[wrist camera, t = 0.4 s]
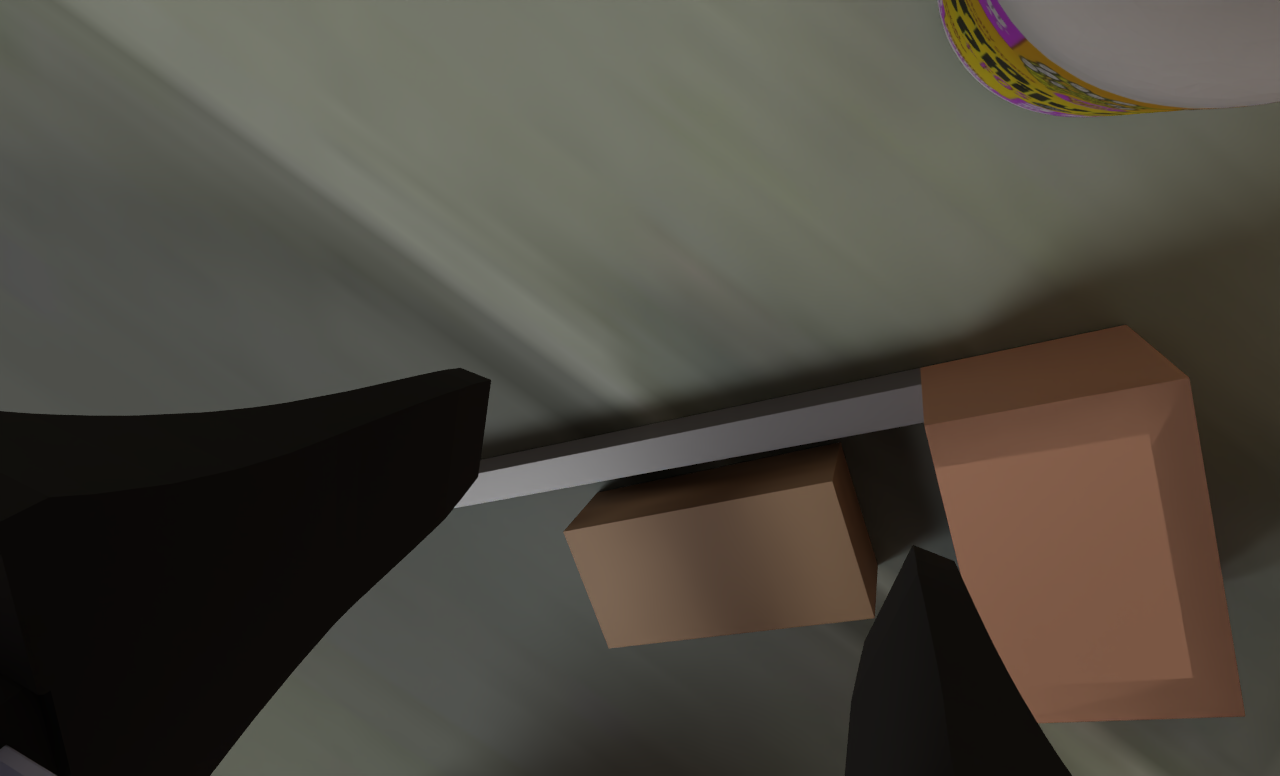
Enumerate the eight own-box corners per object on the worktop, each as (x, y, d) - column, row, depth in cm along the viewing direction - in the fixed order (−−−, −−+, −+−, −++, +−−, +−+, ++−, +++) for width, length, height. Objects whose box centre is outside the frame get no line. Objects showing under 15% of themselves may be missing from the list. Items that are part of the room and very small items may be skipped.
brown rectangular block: (640, 594, 26) (608, 648, 23) (600, 489, 25) (563, 531, 22) (878, 560, 23) (874, 618, 20) (840, 438, 22) (832, 481, 19)
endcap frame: (505, 655, 28) (437, 743, 24) (431, 470, 26) (346, 530, 22) (1175, 597, 20) (1245, 716, 16) (1126, 324, 18) (1189, 377, 14)
